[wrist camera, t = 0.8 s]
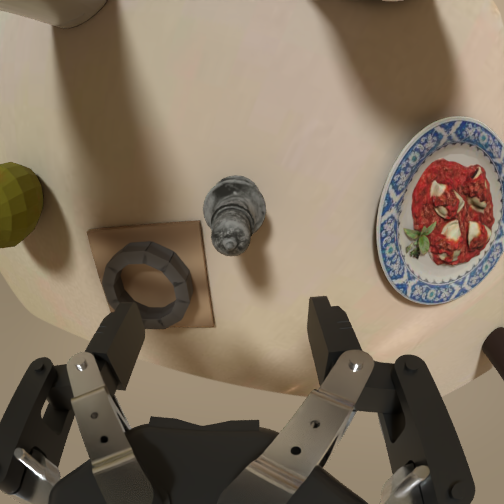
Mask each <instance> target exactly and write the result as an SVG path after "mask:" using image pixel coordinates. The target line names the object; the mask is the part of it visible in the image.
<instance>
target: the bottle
mask: <svg viewBox="0 0 504 504" xmlns="http://www.w3.org/2000/svg"><path fill="white" fill-rule="evenodd" d="M483 352H484V353H485V354H486V356H487V357H488V358H489V360H490V361H491V363H492V364H493V365H494V367H495V368H496V370H497V371H498V373H499V374H500V376H501V377H502V379H503V380H504V328H503V327H500V328H497V329H495V330H494V331H493V332H492V333H491V334H490V335H489V336H488V337H487V339H486V340H485V342H484V344H483Z"/></svg>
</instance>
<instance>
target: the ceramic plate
mask: <svg viewBox="0 0 504 504" xmlns="http://www.w3.org/2000/svg"><path fill="white" fill-rule="evenodd" d="M376 241H377V250H378V255H379V260H380V263H381V266H382V269H383V271H384V273H385V276H386V277H387V279H388V281H389V282H390V284H391V285H392V286H393V288H394V289H395V290H396V291H397V292H398V293H399V294H401V295H402V296H403V297H405V298H406V299H408V300H410V301H413V302H416V303H419V304H426V305H435V304H442V303H446V302H450V301H453V300H455V299H457V298H460V297H462V296H463V295H465V294H466V293H468V292H469V291H471V290H472V289H474V288H475V287H476V286H478V285H479V284H480V283H481V282H482V281H483V280H484V279H485V278H486V277H487V275H488V274H489V273H490V272H491V271H492V270H493V268H494V267H495V265H496V264H497V262H498V261H499V259H500V258H501V256H502V254H503V252H504V143H503V142H502V140H501V139H500V138H499V136H498V135H497V134H496V133H495V132H494V131H493V130H492V129H491V128H489V127H488V126H487V125H485V124H484V123H482V122H480V121H478V120H476V119H473V118H469V117H463V116H454V117H447V118H443V119H440V120H438V121H435V122H433V123H431V124H430V125H428V126H426V127H425V128H424V129H422V130H421V131H419V132H418V133H417V134H416V135H415V136H414V137H413V138H412V139H411V140H410V141H409V143H408V144H407V145H406V146H405V147H404V148H403V150H402V151H401V153H400V155H399V156H398V158H397V159H396V161H395V163H394V164H393V166H392V168H391V170H390V173H389V175H388V177H387V180H386V182H385V185H384V188H383V191H382V194H381V198H380V203H379V207H378V214H377V224H376Z"/></svg>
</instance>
